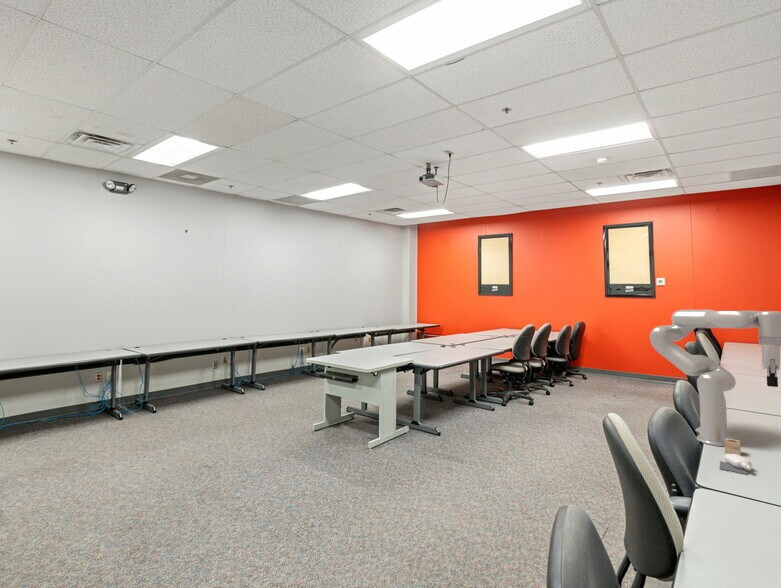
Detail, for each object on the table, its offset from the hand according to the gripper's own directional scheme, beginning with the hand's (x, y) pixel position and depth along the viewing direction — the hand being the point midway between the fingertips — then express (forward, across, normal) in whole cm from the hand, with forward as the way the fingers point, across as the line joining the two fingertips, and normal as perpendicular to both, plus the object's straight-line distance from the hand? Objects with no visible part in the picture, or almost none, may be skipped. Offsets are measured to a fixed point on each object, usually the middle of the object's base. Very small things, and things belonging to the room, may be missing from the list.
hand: (772, 386), depth 166 cm
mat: (+29, +23, -13) cm, 39 cm away
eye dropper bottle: (+27, +16, -13) cm, 34 cm away
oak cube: (+29, +3, -13) cm, 32 cm away
